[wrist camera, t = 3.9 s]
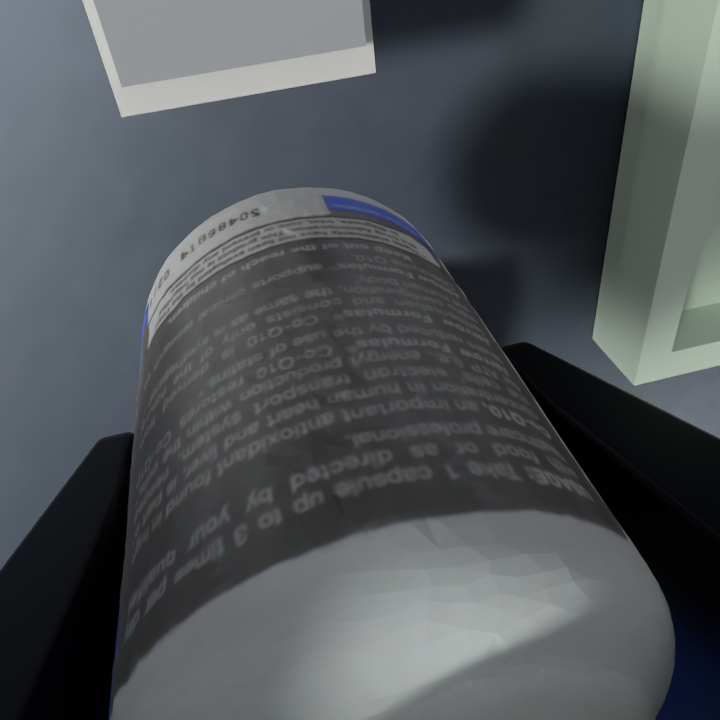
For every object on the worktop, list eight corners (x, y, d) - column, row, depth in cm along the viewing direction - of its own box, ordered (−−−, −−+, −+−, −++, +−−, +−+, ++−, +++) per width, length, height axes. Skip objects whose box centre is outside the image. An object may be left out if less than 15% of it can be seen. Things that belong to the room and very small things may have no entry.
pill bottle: (71, 321, 9) (-223, 1469, 3) (328, 105, 8) (952, 1078, 2) (284, 474, 12) (407, 1202, 5) (494, 328, 11) (963, 1004, 4)
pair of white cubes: (376, 422, 21) (419, 542, 17) (258, 450, 21) (274, 580, 17) (272, -406, 10) (328, -587, 6) (6, -382, 9) (-114, -560, 6)
